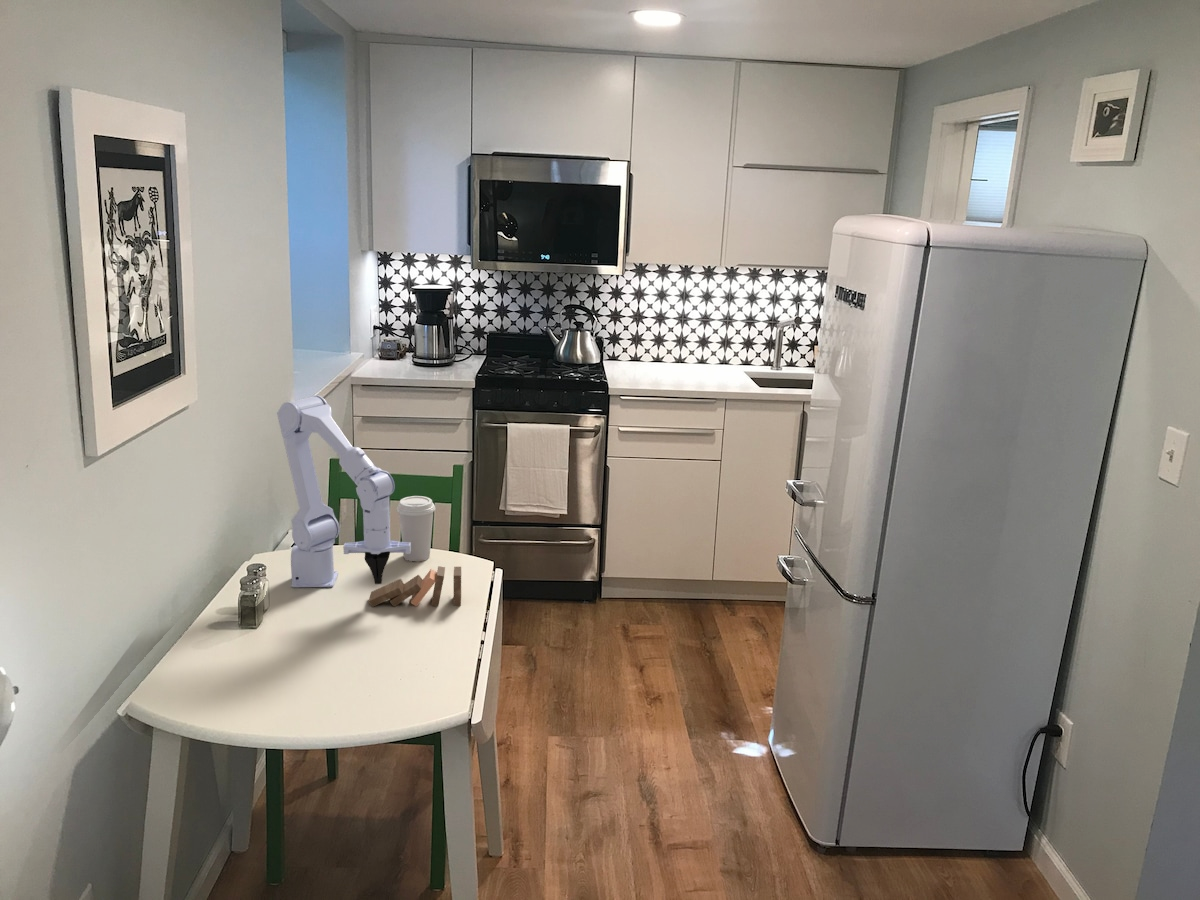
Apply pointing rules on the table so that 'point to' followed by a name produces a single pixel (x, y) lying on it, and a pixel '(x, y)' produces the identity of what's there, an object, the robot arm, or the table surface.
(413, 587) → the domino
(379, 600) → the domino
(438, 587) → the domino
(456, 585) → the domino
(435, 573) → the domino
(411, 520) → the coffee cup
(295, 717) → the table surface
